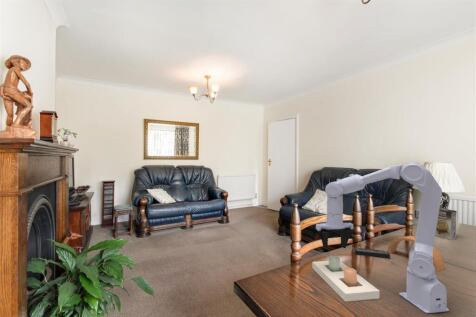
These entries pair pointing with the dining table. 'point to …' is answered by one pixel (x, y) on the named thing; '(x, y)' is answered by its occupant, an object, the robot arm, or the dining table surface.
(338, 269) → the peg sage
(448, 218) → the coffee box
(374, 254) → the multiport hub
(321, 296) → the dining table surface
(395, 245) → the arch
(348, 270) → the peg terracotta
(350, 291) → the white flat block
